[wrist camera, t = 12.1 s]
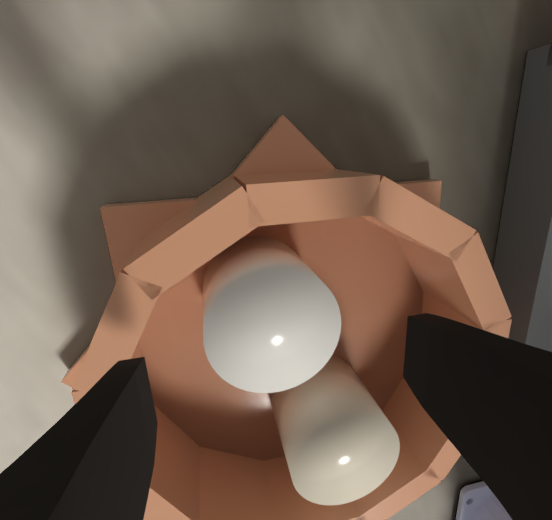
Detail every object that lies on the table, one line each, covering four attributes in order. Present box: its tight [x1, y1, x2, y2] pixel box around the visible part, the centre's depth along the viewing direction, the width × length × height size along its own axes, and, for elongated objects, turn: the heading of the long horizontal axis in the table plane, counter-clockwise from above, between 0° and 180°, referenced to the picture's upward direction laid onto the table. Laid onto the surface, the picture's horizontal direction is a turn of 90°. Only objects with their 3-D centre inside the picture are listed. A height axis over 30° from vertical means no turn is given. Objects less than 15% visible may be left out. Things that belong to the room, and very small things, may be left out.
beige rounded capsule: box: [271, 355, 400, 505], centre depth 15 cm, size 4×4×4 cm
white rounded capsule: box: [203, 236, 341, 393], centre depth 12 cm, size 4×4×4 cm
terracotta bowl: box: [61, 115, 512, 520], centre depth 14 cm, size 20×20×4 cm
